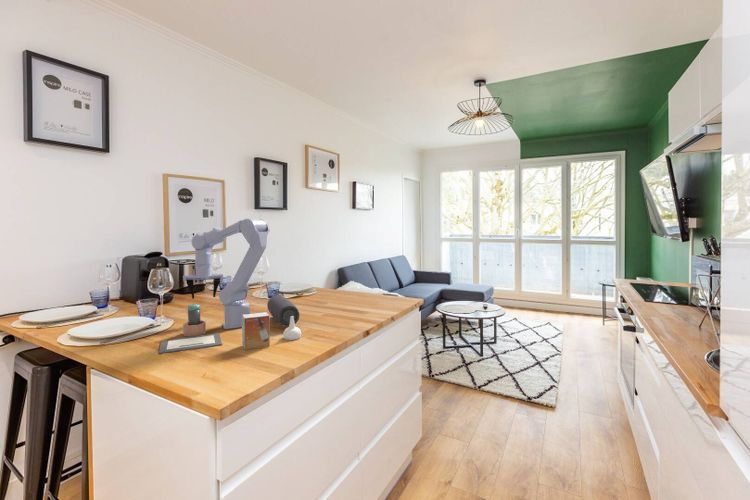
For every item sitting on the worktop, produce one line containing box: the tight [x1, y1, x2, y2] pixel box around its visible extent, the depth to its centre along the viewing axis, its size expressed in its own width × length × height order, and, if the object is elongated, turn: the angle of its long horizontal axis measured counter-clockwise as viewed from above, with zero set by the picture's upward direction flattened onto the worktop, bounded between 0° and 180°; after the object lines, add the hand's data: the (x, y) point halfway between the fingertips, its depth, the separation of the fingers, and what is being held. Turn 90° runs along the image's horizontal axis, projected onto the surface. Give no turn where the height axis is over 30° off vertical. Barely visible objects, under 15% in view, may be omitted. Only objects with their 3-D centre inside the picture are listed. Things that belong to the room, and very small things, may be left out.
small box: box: [241, 311, 271, 351], centre depth 115 cm, size 8×6×10 cm
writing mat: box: [158, 332, 223, 355], centre depth 117 cm, size 18×13×1 cm
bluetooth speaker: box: [267, 294, 300, 328], centre depth 142 cm, size 23×9×10 cm, turn 27°
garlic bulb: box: [282, 316, 302, 341], centre depth 123 cm, size 6×6×8 cm
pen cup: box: [182, 319, 207, 337], centre depth 128 cm, size 7×7×4 cm
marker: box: [187, 303, 202, 325], centre depth 127 cm, size 4×4×10 cm
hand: (203, 297), depth 141 cm, fingers open, 7 cm apart
